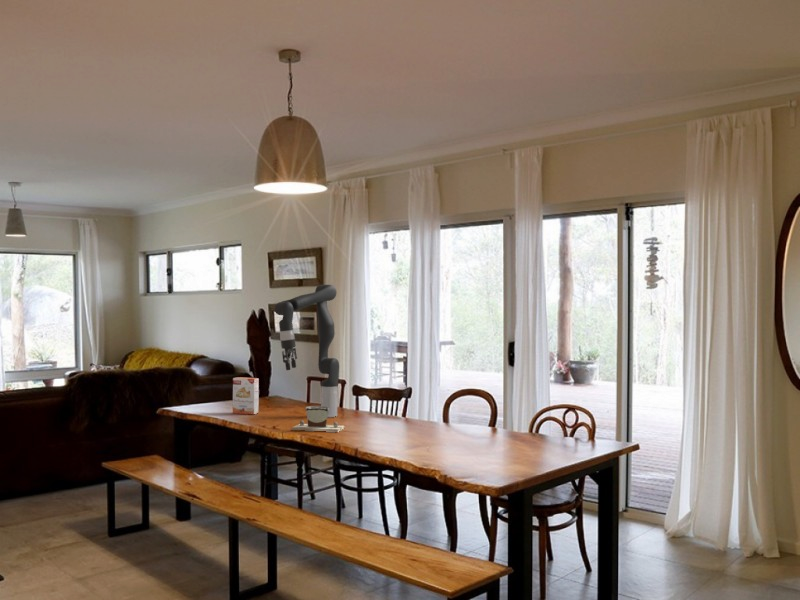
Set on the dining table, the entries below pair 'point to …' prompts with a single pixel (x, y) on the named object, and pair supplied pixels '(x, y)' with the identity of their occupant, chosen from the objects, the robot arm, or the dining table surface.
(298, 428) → the board
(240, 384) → the cracker box
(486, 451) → the dining table surface
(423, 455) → the dining table surface
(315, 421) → the food container
